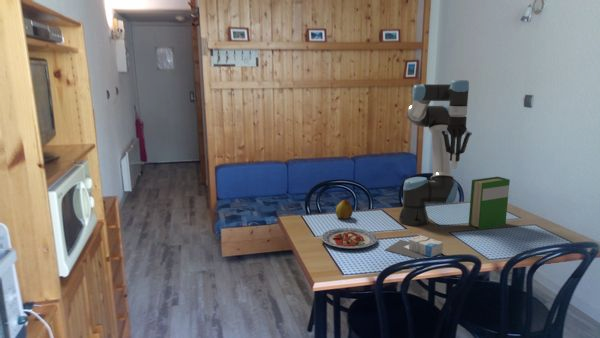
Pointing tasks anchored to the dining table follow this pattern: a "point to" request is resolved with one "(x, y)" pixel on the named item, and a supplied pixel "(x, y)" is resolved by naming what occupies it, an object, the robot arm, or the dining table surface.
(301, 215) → the dining table surface
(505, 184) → the hardback book
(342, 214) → the fruit
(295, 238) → the dining table surface
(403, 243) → the mat
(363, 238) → the ceramic plate
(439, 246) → the ink box
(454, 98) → the robot arm
